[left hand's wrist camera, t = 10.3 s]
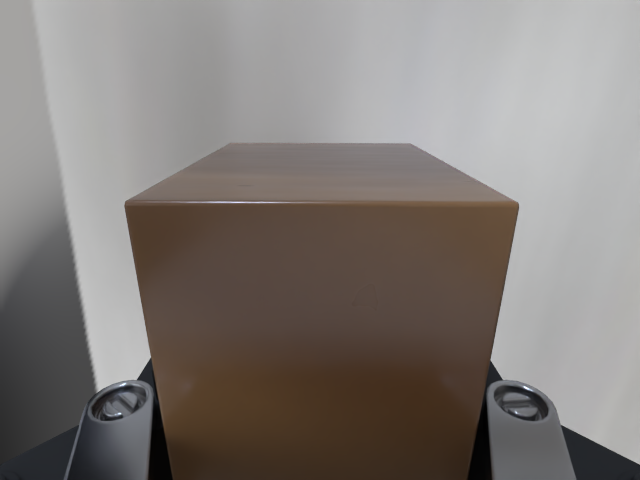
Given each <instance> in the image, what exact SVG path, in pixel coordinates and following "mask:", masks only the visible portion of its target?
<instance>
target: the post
mask: <svg viewBox="0 0 640 480" xmlns="http://www.w3.org/2000/svg"><path fill="white" fill-rule="evenodd" d="M518 210H519V204H518V202H516V201H514V200H512V199H510V198H508V197H507V196H505V195H503V194H501V193H499V192H498V191H496V190H494V189H492V188H490V187H489V186H487V185H485V184H483V183H481V182H479V181H478V180H476V179H474V178H472V177H470V176H469V175H467V174H465V173H463V172H461V171H460V170H458V169H456V168H454V167H452V166H450V165H449V164H447V163H445V162H443V161H441V160H440V159H438V158H436V157H434V156H432V155H431V154H429V153H427V152H425V151H423V150H421V149H420V148H418V147H416V146H414V145H412V144H389V143H230V144H228V145H226V146H224V147H222V148H220V149H219V150H217V151H215V152H213V153H211V154H210V155H208V156H206V157H204V158H202V159H201V160H199V161H197V162H195V163H193V164H192V165H190V166H188V167H186V168H185V169H183V170H181V171H179V172H177V173H176V174H174V175H172V176H170V177H168V178H167V179H165V180H163V181H161V182H159V183H158V184H156V185H154V186H152V187H150V188H149V189H147V190H145V191H143V192H141V193H140V194H138V195H136V196H134V197H132V198H131V199H129V200H127V201H126V202H125V212H126V218H127V223H128V229H129V235H130V240H131V246H132V252H133V257H134V263H135V269H136V274H137V280H138V286H139V291H140V297H141V303H142V308H143V314H144V320H145V325H146V331H147V337H148V342H149V348H150V354H151V359H152V365H153V371H154V376H155V382H156V387H157V393H158V399H159V404H160V410H161V416H162V421H163V427H164V433H165V438H166V444H167V450H168V455H169V461H170V467H171V472H172V478H173V480H468V476H469V470H470V465H471V460H472V455H473V449H474V444H475V439H476V433H477V428H478V423H479V417H480V412H481V407H482V401H483V396H484V391H485V385H486V380H487V375H488V370H489V364H490V359H491V354H492V348H493V343H494V338H495V332H496V327H497V322H498V316H499V311H500V306H501V300H502V295H503V290H504V285H505V279H506V274H507V269H508V263H509V258H510V253H511V247H512V242H513V237H514V231H515V226H516V221H517V215H518Z"/></svg>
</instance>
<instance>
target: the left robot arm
mask: <svg viewBox="0 0 640 480" xmlns="http://www.w3.org/2000/svg"><path fill="white" fill-rule="evenodd" d="M0 480H173V478H172V472H171V467H170V461H169V455H168V450H167V444H166V438H165V433H164V427H163V421H162V416H161V410H160V404H159V399H158V393H157V387H156V382H155V376H154V371H153V365H152V359H151V358H150V360H149V362H148V363H147V365H146V366H145V368H144V369H143V371H142V373H141V374H140V376H139V377H138V379H137V380H128V381H122V382H118V383H115V384H112V385H110V386H108V387H106V388H104V389H102V390H101V391H99V392H98V393H96V394H95V395H94V396H93V397H92V398H91V399H90V400H89V401H88V402H87V404H86V406H85V408H84V411H83V414H82V418H81V421H80V425H78V426H76V427H74V428H72V429H70V430H68V431H66V432H64V433H62V434H60V435H58V436H56V437H54V438H52V439H50V440H48V441H46V442H44V443H42V444H40V445H38V446H36V447H35V448H32V449H30V450H28V451H26V452H25V453H23V454H21V455H19V456H17V457H15V458H13V459H11V460H9V461H7V462H5V463H3V464H1V465H0ZM468 480H640V465H639V464H637V463H635V462H633V461H631V460H629V459H627V458H625V457H623V456H621V455H619V454H617V453H615V452H613V451H611V450H609V449H607V448H605V447H603V446H601V445H599V444H597V443H595V442H594V441H592V440H590V439H588V438H586V437H584V436H582V435H580V434H578V433H576V432H574V431H572V430H570V429H568V428H566V427H564V426H562V425H560V421H559V418H558V414H557V411H556V408H555V406H554V404H553V402H552V401H551V400H550V399H549V398H548V397H547V396H546V395H545V394H544V393H542V392H541V391H539V390H538V389H536V388H534V387H532V386H530V385H528V384H525V383H522V382H518V381H512V380H503V379H502V378H501V376H500V375H499V373H498V372H497V370H496V368H495V367H494V365H493V364H492V362H491V361H490V364H489V370H488V375H487V380H486V385H485V391H484V396H483V401H482V407H481V412H480V417H479V423H478V428H477V433H476V439H475V444H474V449H473V455H472V460H471V465H470V470H469V476H468Z"/></svg>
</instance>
